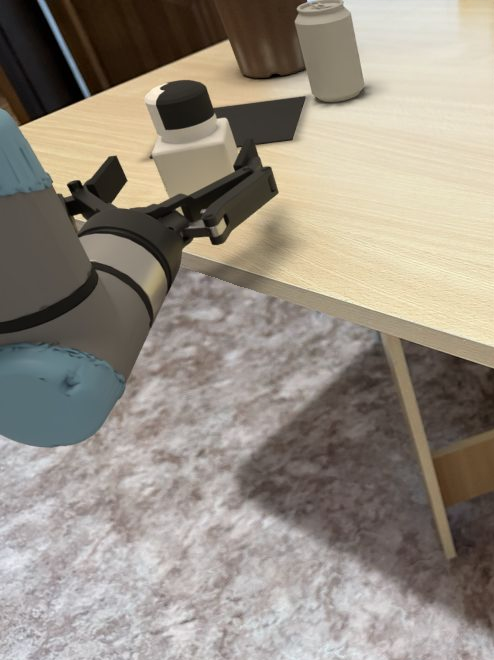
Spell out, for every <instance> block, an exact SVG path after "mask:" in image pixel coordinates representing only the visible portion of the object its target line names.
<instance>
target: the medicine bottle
mask: <svg viewBox="0 0 494 660" xmlns="http://www.w3.org/2000/svg"><path fill="white" fill-rule="evenodd" d="M143 101H144V105H145V106H146V108H147V111H148V114H149V116H150V119H151V121H152V124H153V127H154V130H155V132H156V134H157V135H158V136H157V138H156V141H155V143H154V145H153V146H154V147H153V149H152V150H151V151H152V152H151V154H152V157H153V158H152V159H153V162H154V165H155V167H156V169H157V173H158V174H159V177H160V179H161V181H162V184H163V186H164V189H165V191H166V194H167V196H168V199H170V198H172V197H174V196H175V195H177V194H180V193H181V194H185V195H190V194H192V193H194V192H196V191H198V190H200V189H202V188H204V187H206V186H208V185H210V184H211V183H213V182H215V181H217V180H219V179H221V178H223V177H225V176H227V175H229V174H231V173H233V172H235V171H234V168H233V165H234V163H235V161H236V159H237V156H238V154H239V151H238V147H236V144H235V141H234V138H233V135H232V131H231V128H230V125H229V122H228V120H227V119H226V118H220V119H217V118H216V115H215V112H214V109H213V108H214V106H213V102H212V100H211V96H210V93H209V91H208V88H207V86H206V84H204V83H203V82H201V81H197V80H192V79H180V80H173V81H168V82H165V83H162V84H159V85H157V86H155V87H153V88H152V89H151V90H149V91H148V92H147V93H146V95H145V97H144V100H143ZM176 210H177V211H178V212H179V213H181V214H182V215H183V216H184V214H183V212H182V209H181V207H179V208H177V209H176Z"/></svg>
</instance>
